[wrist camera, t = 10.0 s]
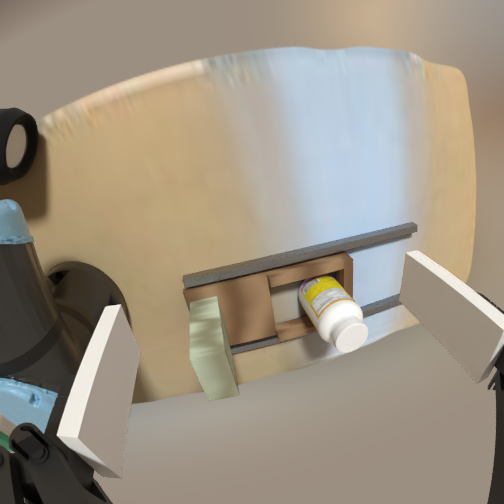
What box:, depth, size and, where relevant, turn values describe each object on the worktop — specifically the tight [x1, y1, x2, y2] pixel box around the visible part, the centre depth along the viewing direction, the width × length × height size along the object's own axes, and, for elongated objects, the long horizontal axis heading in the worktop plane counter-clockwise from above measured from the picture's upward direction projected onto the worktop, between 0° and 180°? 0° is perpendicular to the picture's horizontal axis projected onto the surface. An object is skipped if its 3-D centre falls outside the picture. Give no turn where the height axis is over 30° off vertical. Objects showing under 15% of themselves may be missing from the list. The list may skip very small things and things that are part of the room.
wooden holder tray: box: [183, 251, 353, 401], centre depth 38 cm, size 24×11×13 cm, turn 100°
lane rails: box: [183, 222, 417, 354], centre depth 44 cm, size 38×15×2 cm, turn 100°
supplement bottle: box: [298, 273, 368, 353], centre depth 39 cm, size 7×7×13 cm
